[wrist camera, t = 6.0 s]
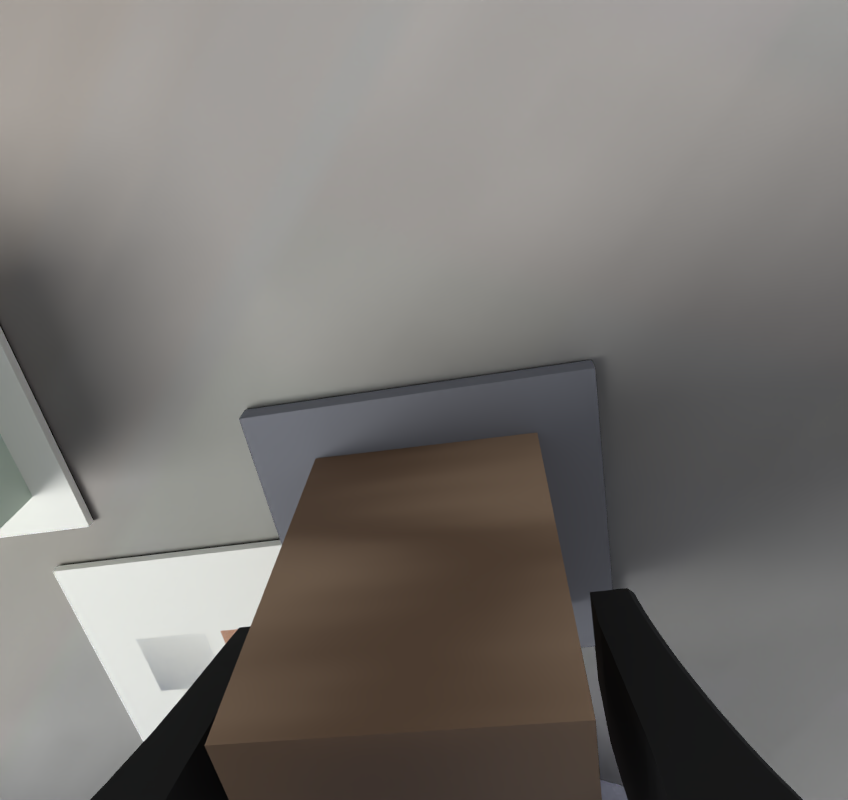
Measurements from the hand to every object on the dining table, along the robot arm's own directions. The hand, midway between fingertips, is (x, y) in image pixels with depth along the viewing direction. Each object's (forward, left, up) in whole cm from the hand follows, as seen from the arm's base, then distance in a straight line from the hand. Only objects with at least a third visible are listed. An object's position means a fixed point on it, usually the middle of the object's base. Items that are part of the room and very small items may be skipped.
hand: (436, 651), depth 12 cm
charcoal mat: (0, 0, -3) cm, 3 cm away
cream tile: (-6, -3, -3) cm, 8 cm away
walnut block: (0, 0, -3) cm, 3 cm away
